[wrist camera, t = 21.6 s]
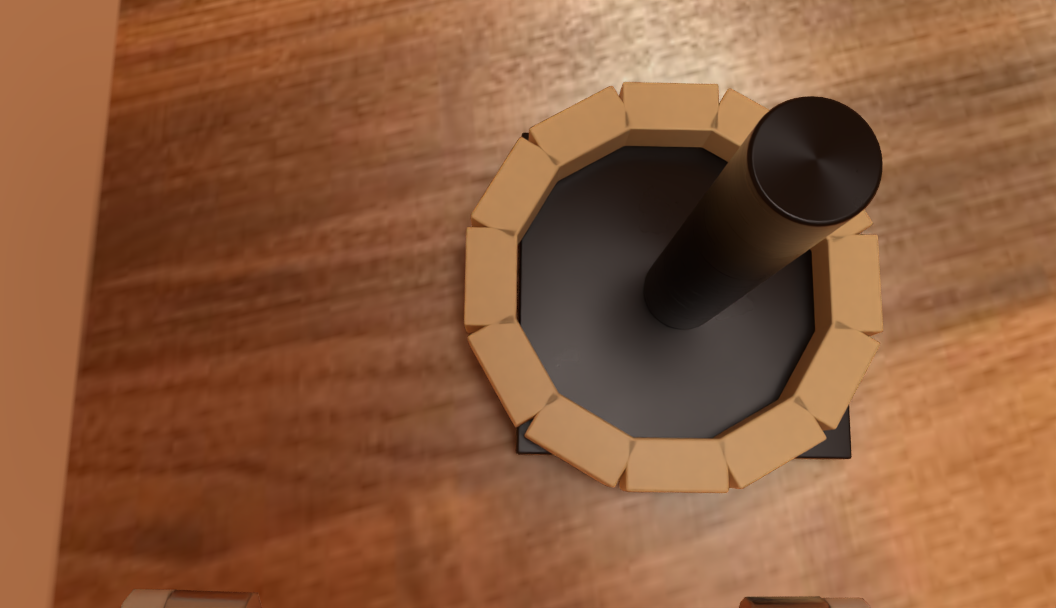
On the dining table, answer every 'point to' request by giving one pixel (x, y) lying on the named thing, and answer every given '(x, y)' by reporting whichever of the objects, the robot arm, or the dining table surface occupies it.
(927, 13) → the dining table surface
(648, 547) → the dining table surface
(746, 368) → the hook post
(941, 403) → the dining table surface
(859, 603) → the robot arm
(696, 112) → the segmented block ring
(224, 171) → the dining table surface
